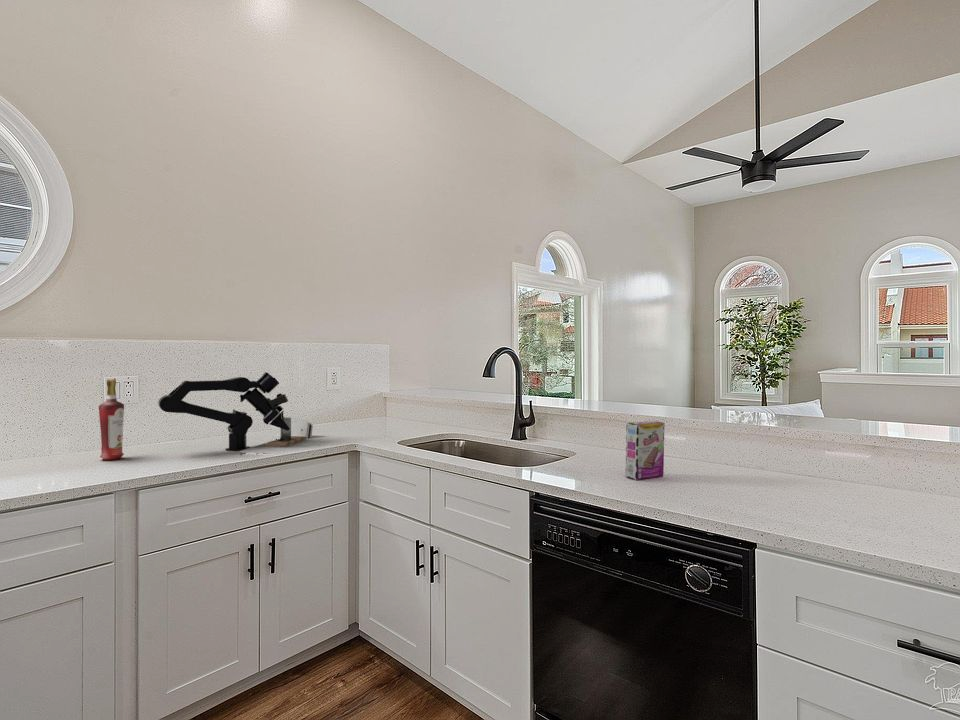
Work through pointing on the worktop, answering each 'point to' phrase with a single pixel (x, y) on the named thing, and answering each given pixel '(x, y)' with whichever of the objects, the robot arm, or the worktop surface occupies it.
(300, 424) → the white game console
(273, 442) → the brown slotted block
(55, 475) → the worktop surface
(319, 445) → the pale green square plate
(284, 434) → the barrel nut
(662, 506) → the worktop surface
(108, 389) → the liquor
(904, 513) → the worktop surface
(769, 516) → the worktop surface
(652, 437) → the candy bar box
